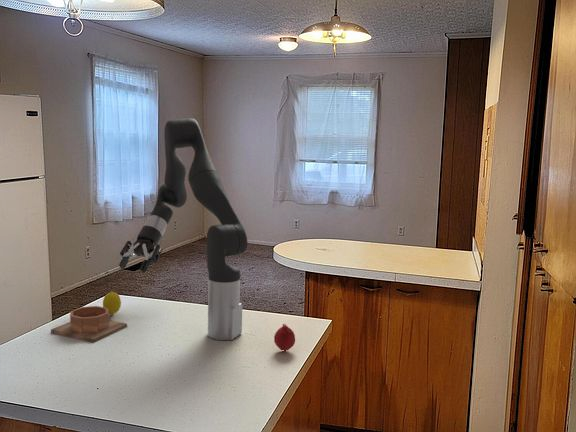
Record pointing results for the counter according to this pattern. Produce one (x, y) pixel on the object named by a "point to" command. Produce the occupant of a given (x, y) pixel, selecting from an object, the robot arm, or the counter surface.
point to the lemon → (112, 302)
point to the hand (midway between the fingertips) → (131, 269)
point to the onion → (284, 338)
